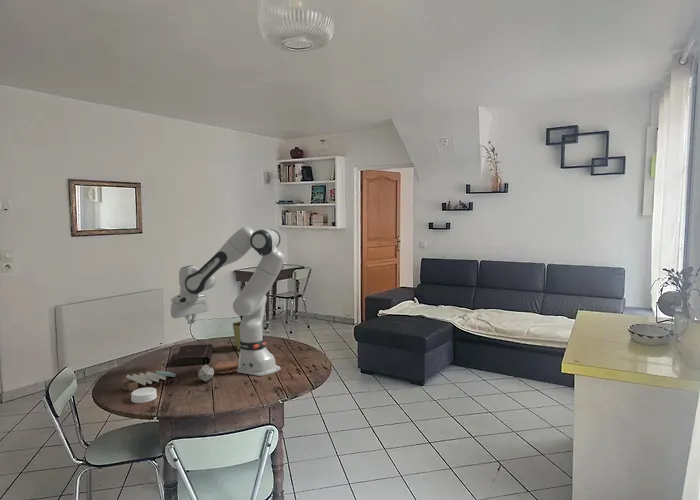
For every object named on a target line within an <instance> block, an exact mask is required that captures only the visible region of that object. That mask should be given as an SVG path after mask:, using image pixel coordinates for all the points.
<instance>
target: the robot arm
mask: <svg viewBox="0 0 700 500" xmlns="http://www.w3.org/2000/svg"><path fill="white" fill-rule="evenodd" d="M280 243H281V235H280V233H279V232H278V231H276V230H275V229H272V228H262V229H257V230H256V231H255V230H254V229H253V228H251V227H249V226H243V227H241V228H239V229H238V230H237V231H235V232H234V233H233V234H232V235H231V236H230V237H229V238H228V239H227V240H226V242H224V244H223V245H222V246H220V248H219V250H217V252H216V253H215V254H214V255H212V257H211V258H210V259H209V260H208V261H207V262H206V263H205V264H203V266H201V268H198V267H197V266H196V265H193V264H192V265H191V264H190V265H187V266H182V267H181V268H180V269H179V271H178V284H179V287H180V288H179V294H177V295H176V296H174V297H172V298H171V299H170V302H171V304H170V317H172V319H178V318H182V317H183V318H185V319H186V321H187V324H188V325H191V324H194V323H195V322H196V321H195V320H196V317H197V314H201V313H205V312H206V313H207V312H208V311H209V303H208V297H207V295H206V294H200V293H202V292H205V291H208V290H210V289H212V288H213V287H215V285H216V282H217V281H216V277H215V273H216V272H218V271H219V270H220V269H221V268H224V267H225V266H228V265H230V264H233V263H235V262H237V261H239V260H240V259H242V258H243V257H244V256H245V255H246V254H247V253H248V252H249V251H250V250H251V249H252V248H253V250H255V251H256V252H257V253H258V255H259V256H261V259H260V261H259V263H258V264H257V267H256V269H255V270H254V272H253V274H252V276H251V278H250V279H249V280H248V282H247V283H246V284H245V285H244V287H243V288H242V290H241V291H240V293H239V294H238V296H237V297H236V298H235V299H234V300H233V302H232V309H233V311H234V313H235V314H236V315H238V316H239V317H240V316H243V318H242V322H241V324H240V343H239V345H240V348H241V350H239V355H238V367H237V369H236V372H237V373H241V374H245V375H246V374H247V375H252V376H259V377H263V376H268V375H271V374H274V373H277V372H279V371H280V370H281V369H282V368H281V366H279V365H277V364H276V359H275V358H276V357H275V356H274V355H273V354H272V353H271V352H270V351H269V349H267V347H266V345H267V342H266V341H265V340H264V338H263V336H264V335H263V322H264V321H263V320H264V316H265V315H264V314H265V307H266V303H267V301H268V300H267V299H268V298H267V293H268V292H269V291H270V290H271V288H272V286H273V285H274V283H275V281H276V279H277V277H278V276H279V274H280V273H281V270H282V267H283V265H284V262H285V259H286V258H285V254H284V253H283V252H282V251H281V250H279V248H278V247H279V246H280V245H281V244H280ZM190 317H191V319H190ZM238 368H239V369H238Z"/></svg>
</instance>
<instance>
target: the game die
mask: <svg viewBox="0 0 700 500" xmlns="http://www.w3.org/2000/svg"><path fill="white" fill-rule="evenodd" d="M215 370H216V368H213V367H212V365H209V364H204V365H203V366H199V369H197V370H196V372H197V376H196V379H200V381H201V382H205V384H207V383H208V381H210V380H213V377H216V374H215Z"/></svg>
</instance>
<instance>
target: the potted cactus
mask: <svg viewBox="0 0 700 500" xmlns="http://www.w3.org/2000/svg"><path fill="white" fill-rule="evenodd" d="M242 318H243V316H240V315H239V320H238V321H237V320H236V321H234V322H233V323H232V328H233V334H234V340H235V345H236V349H237V350H238V351H240V350H241V348H240V345H239V343H240V324H241V322H242Z"/></svg>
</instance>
